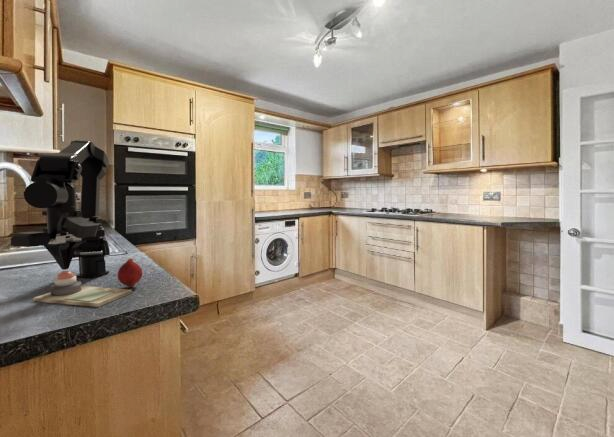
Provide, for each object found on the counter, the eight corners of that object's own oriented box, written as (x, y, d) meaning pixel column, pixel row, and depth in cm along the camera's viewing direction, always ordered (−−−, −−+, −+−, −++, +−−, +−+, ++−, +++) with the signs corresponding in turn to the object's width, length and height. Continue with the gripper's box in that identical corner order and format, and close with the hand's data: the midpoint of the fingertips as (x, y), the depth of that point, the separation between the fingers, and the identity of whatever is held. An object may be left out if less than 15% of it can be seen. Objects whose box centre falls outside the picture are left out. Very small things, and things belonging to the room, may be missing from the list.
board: (33, 301, 70) (32, 289, 69) (74, 288, 79) (73, 278, 79) (97, 306, 66) (97, 294, 66) (132, 292, 76) (131, 282, 76)
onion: (131, 291, 77) (130, 261, 77) (112, 289, 78) (111, 260, 78) (147, 284, 83) (146, 256, 82) (130, 283, 84) (128, 255, 83)
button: (50, 286, 72) (49, 272, 72) (67, 281, 76) (66, 268, 76) (64, 287, 71) (63, 273, 71) (80, 282, 75) (80, 269, 75)
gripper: (48, 208, 61) (52, 281, 63) (120, 206, 80) (123, 262, 81) (6, 208, 64) (11, 278, 65) (86, 205, 82) (89, 260, 83)
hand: (65, 269), depth 73 cm, fingers closed
